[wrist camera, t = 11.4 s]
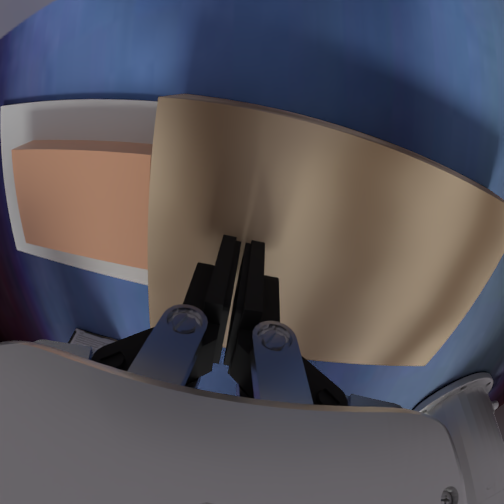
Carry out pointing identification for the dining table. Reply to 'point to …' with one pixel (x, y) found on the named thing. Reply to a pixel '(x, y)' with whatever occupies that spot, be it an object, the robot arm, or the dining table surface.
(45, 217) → the block
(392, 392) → the dining table surface
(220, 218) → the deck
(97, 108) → the mat
